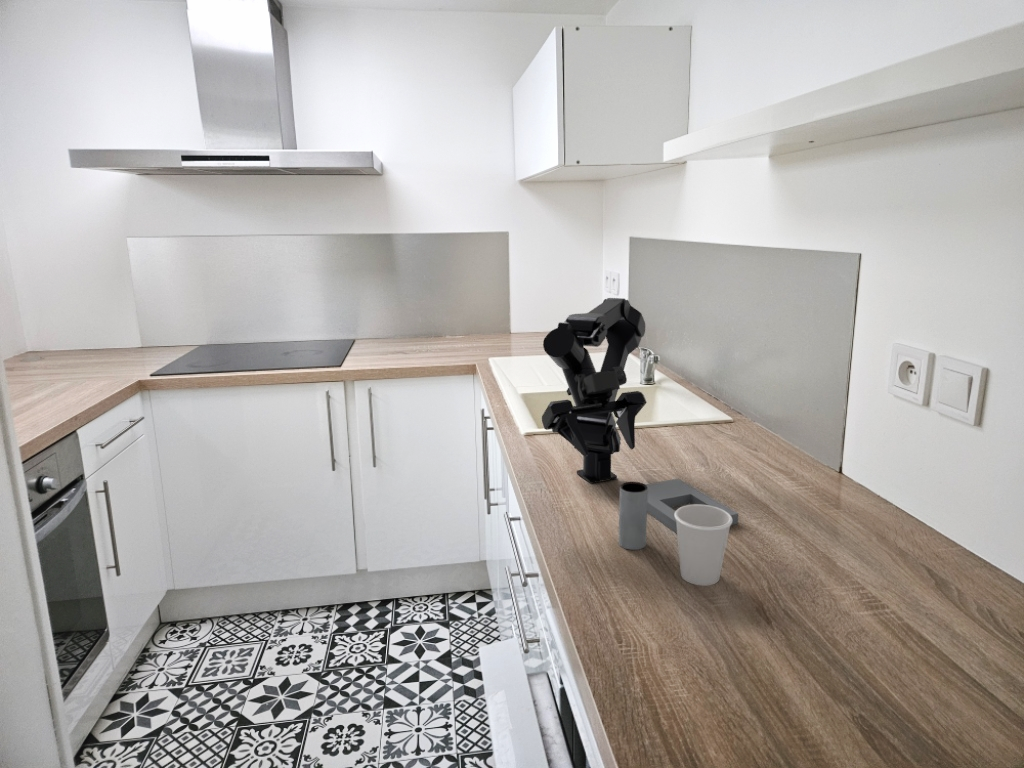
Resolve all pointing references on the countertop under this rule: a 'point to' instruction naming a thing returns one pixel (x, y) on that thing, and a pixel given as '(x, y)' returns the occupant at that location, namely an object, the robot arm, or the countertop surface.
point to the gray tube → (633, 515)
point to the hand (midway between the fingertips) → (610, 451)
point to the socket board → (678, 501)
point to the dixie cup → (701, 542)
